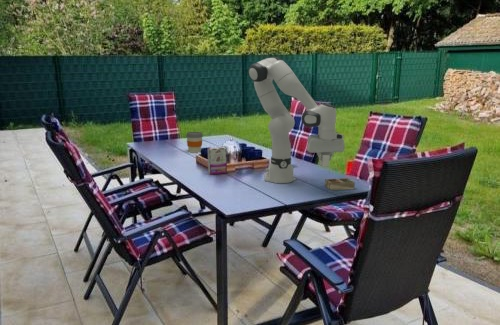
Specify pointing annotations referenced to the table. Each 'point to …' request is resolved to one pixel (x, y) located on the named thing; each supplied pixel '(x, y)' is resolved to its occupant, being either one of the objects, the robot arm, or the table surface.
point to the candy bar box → (217, 160)
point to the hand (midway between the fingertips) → (324, 160)
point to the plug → (325, 159)
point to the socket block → (339, 184)
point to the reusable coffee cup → (194, 141)
